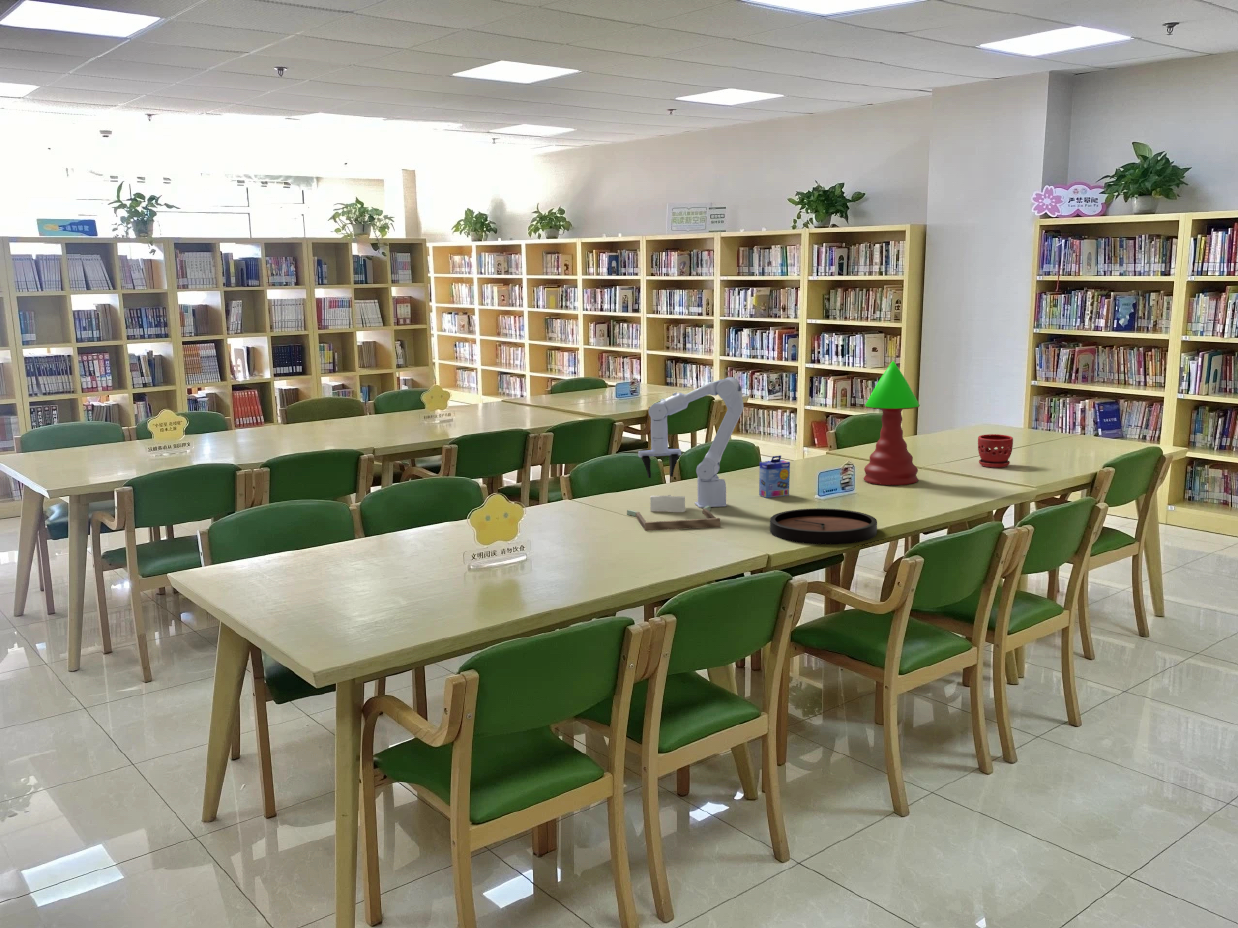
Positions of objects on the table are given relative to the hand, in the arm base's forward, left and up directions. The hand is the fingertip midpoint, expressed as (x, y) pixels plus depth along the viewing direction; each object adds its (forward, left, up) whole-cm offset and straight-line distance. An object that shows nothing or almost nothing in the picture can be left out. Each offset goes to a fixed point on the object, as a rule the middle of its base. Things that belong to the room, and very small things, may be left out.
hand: (660, 476), depth 346 cm
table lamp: (-90, -18, -10) cm, 92 cm away
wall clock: (-40, +52, -10) cm, 66 cm away
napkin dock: (0, +26, -9) cm, 27 cm away
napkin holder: (0, +13, -10) cm, 16 cm away
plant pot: (-141, -37, -10) cm, 146 cm away
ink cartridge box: (-41, -3, -10) cm, 42 cm away
